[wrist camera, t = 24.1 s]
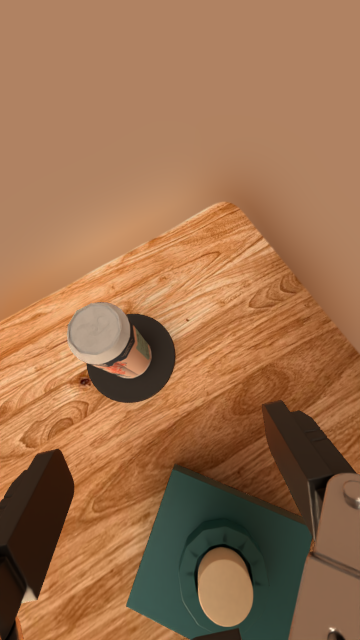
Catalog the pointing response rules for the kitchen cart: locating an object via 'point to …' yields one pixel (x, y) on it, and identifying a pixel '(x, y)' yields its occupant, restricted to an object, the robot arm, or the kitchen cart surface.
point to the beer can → (108, 340)
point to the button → (224, 587)
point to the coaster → (154, 374)
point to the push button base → (211, 532)
